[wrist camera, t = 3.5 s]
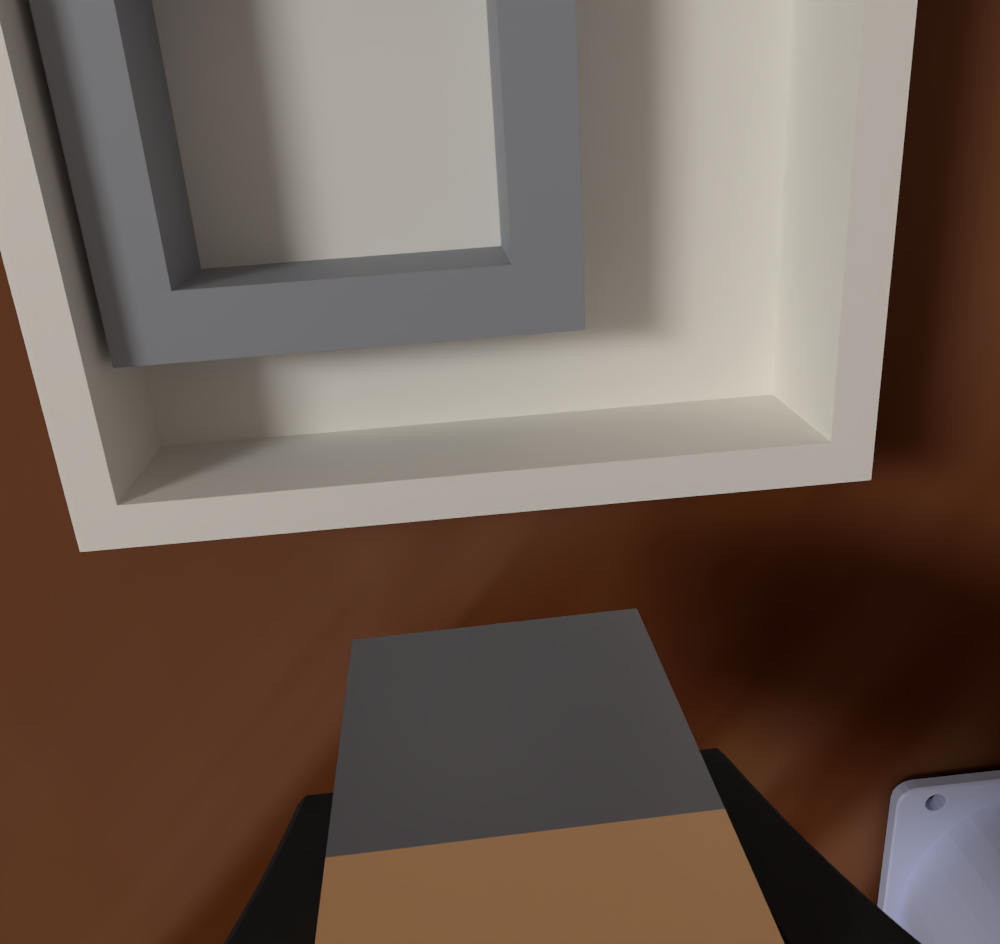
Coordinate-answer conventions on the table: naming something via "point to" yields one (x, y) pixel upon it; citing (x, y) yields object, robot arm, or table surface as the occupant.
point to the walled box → (446, 252)
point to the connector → (528, 796)
